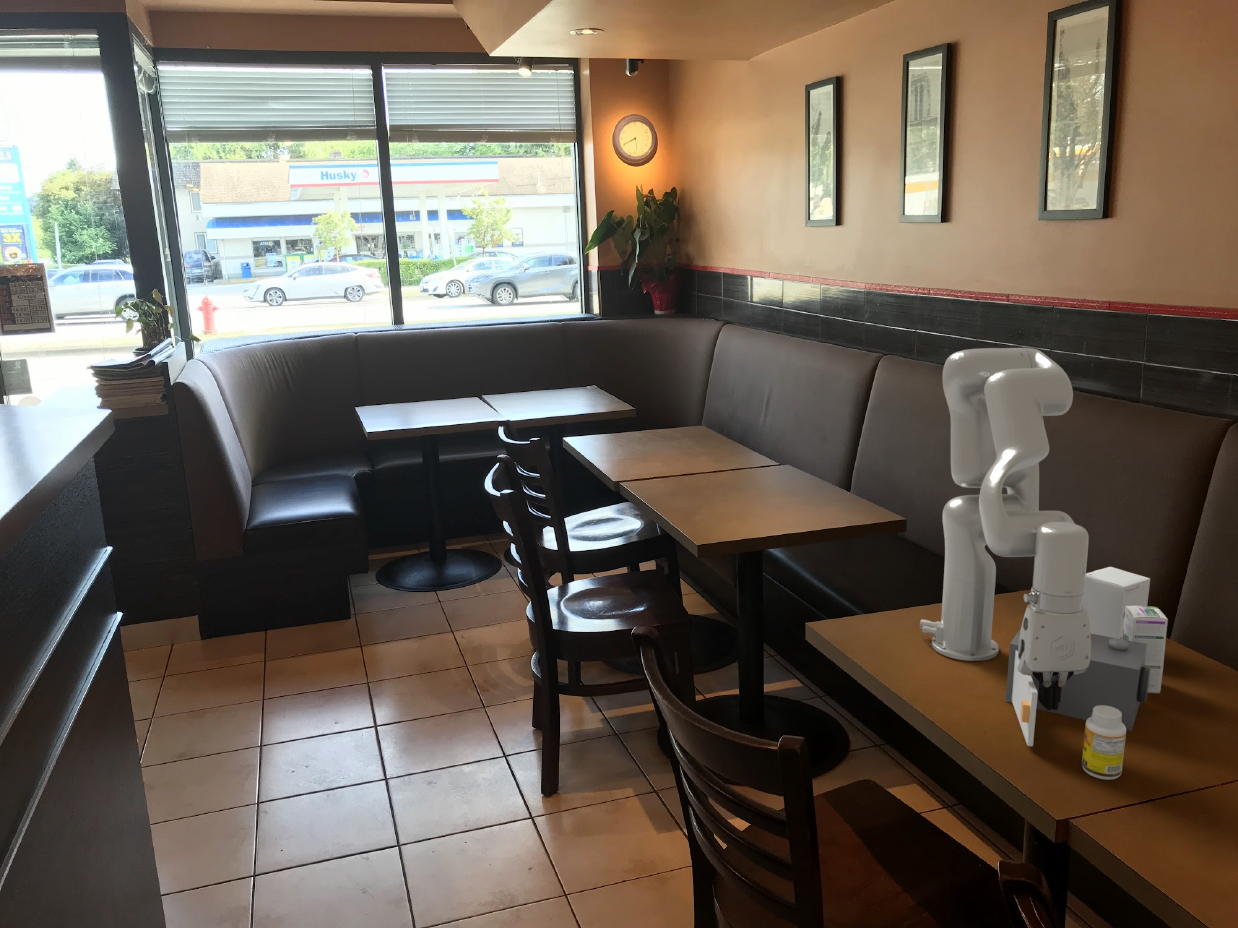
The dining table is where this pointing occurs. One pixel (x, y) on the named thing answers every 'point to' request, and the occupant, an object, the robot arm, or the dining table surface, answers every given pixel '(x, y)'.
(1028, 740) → the side door
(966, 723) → the dining table surface
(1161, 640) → the syrup box
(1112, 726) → the supplement bottle
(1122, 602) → the supplement box
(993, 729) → the dining table surface
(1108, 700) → the box
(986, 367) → the robot arm
